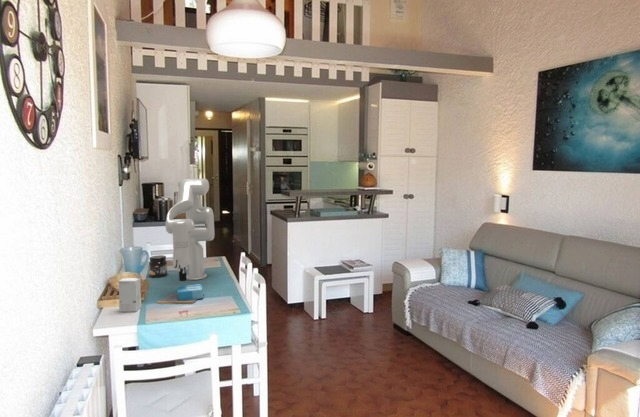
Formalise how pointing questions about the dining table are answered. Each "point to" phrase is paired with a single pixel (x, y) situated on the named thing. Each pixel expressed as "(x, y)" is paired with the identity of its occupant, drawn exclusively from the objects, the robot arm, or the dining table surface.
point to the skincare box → (129, 295)
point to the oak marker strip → (174, 302)
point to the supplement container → (158, 266)
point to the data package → (190, 292)
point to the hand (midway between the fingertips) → (183, 280)
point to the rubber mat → (176, 298)
